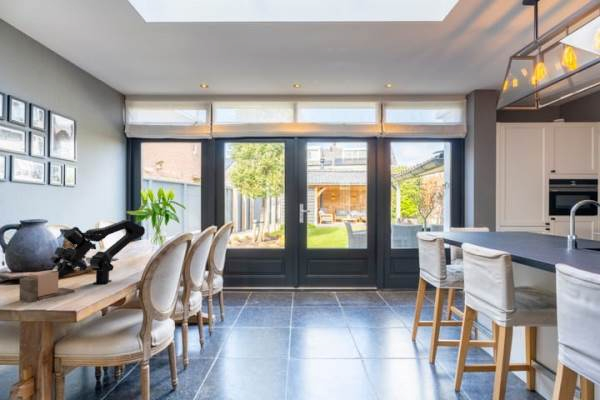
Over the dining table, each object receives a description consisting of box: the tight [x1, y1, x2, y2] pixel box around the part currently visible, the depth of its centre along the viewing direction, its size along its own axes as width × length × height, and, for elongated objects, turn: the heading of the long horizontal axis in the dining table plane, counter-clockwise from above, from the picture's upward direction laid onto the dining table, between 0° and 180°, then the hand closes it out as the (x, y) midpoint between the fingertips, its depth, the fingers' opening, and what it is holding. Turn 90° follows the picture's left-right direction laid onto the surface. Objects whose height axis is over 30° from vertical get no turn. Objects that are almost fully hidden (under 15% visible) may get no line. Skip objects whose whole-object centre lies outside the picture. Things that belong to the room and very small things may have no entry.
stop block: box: [19, 276, 75, 303], centre depth 147 cm, size 18×9×9 cm, turn 157°
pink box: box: [29, 269, 59, 297], centre depth 145 cm, size 8×6×9 cm
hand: (54, 279), depth 149 cm, fingers closed, pressing on pink box
